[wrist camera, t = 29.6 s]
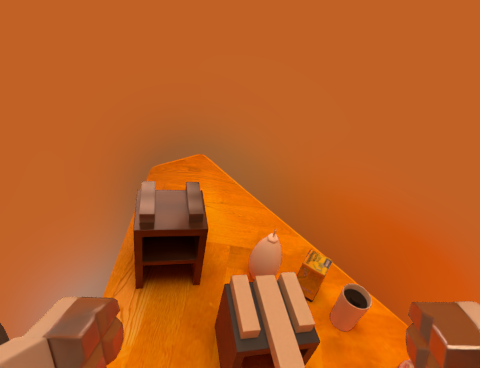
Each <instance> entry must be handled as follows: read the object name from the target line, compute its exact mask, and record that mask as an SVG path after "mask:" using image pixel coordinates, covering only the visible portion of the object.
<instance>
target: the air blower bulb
mask: <svg viewBox="0 0 480 368" xmlns="http://www.w3.org/2000/svg"><path fill="white" fill-rule="evenodd" d="M275 233H276V229H275V231H274V233H273V234H269V235H268V236H267V237H265V238H263V239H262V240H261V241H260V242H259V243H258V244H257V245H256V246H255V248H254V249H253V251H252V253H251V256H250V259H249V271H250V274H251V276H252V278H253V279H255V276H262V275H276V274H277V272H278V270H279V268H280V265H281V261H282V249H281V245H280V242H279V240H278V236H277V235H275Z"/></svg>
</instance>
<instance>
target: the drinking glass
mask: <svg viewBox="0 0 480 368" xmlns="http://www.w3.org/2000/svg"><path fill="white" fill-rule="evenodd" d="M371 304H372V299H371V296H370V294H369V293H368V292H367V291H366V290H365V289H364V288H363V287H361V286H359V285H357V284H347V285H345V286H344V288H343V290H342V292H341V294H340V296H339V298H338V300H337V302H336V304H335V306H334V307H333V309H332V311H331V313H330V320H331V322H332V324H333V325H334V326H335V327H336V328H337V329H339V330H341V331H349V330H351V329H352V328H353V327H354V326H355V324H356V323H357V322H358V321H359V320H360V318H361V317H362V316H363V315H364V314H365V313H366V311H367V310H368V309H369V308H370V307H371Z"/></svg>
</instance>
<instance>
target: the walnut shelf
mask: <svg viewBox="0 0 480 368" xmlns="http://www.w3.org/2000/svg"><path fill="white" fill-rule="evenodd" d="M207 234H208V224H207V218H206V212H205V205H204V199H203V193H202V191H200V186H199V182H186V190H155V181H142V184H141V190H137V199H136V210H135V220H134V255H135V279H136V289H139V288H143V278H144V265H165V264H186V263H191V267H192V278H193V285H199V284H200V278H201V272H202V266H203V259H204V253H205V246H206V240H207Z"/></svg>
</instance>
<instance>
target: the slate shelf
mask: <svg viewBox="0 0 480 368" xmlns="http://www.w3.org/2000/svg"><path fill="white" fill-rule="evenodd" d="M277 283H278V286H279V289H280V292H281V295H282V299H283V302H284V305H285V308H286V311H287V314H288V317H289V320H290V323H291V326H292V329H293V332H294V335H295V338H296V341H297V344H298V347H299V350H300V353H301V356H302V359H303V362H304V365H306V363H307V362H308V360H309V359H310V357H311V356H312V354H313V353H314V351H315V350H316V348H317V346H318V345H319V343H320V340H319V338H318V335H317V332H316V330H315V327H314V325H315V322H314V320H313V317H312V314H311V312H310V309H309V307H308V304H307V302H306V299H305V297H304V294H303V292H302V289H301V287H300V284H299V282H298V279H297V277H296V274H295V272H285V273H281V274H280V276H279V279H278V281H277ZM215 330H216V338H217V345H218V352H219V360H220V367H221V368H240V367H241V364H242V361H243V359H244V357H245V356H253V355H261V354H269V353H271V351H270V347H269V344H268V340H267V336H266V332H265V328H264V324H263V321H262V317H261V313H260V309H259V305H258V301H257V298H256V294H255V290H254V286H253V282H248V278H247V275H233V276H232V277H231V281H230V284H225V285H224V289H223V294H222V298H221V302H220V306H219V311H218V315H217V319H216V324H215Z"/></svg>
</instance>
